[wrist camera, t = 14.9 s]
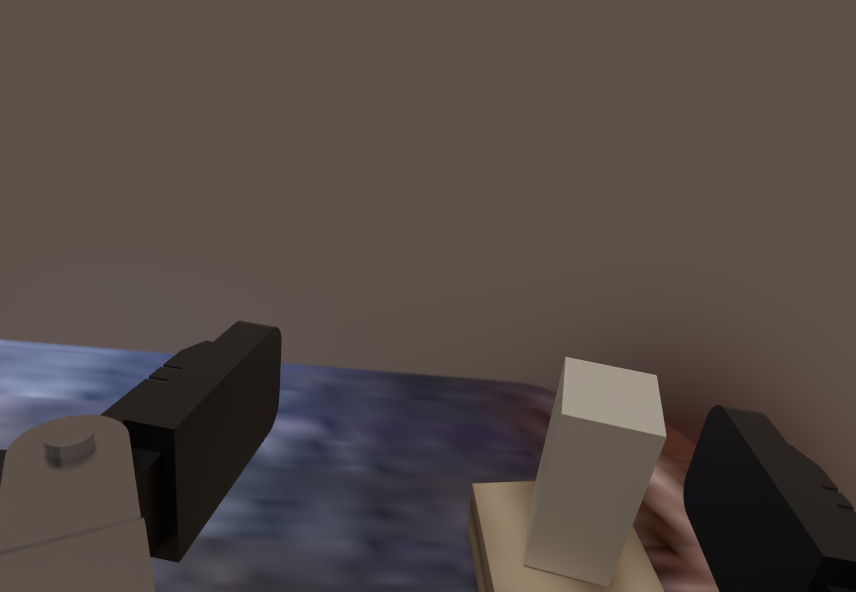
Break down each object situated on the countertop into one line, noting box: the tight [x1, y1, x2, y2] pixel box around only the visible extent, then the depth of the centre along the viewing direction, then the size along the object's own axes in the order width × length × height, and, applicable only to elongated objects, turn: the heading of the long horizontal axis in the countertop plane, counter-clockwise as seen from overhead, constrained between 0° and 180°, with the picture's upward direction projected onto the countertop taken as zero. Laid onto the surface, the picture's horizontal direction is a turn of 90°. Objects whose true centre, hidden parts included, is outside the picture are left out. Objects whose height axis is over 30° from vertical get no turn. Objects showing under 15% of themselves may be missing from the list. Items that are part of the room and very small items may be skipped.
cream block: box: [524, 357, 666, 587], centre depth 33 cm, size 5×5×12 cm
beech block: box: [467, 481, 664, 592], centre depth 37 cm, size 10×10×5 cm
